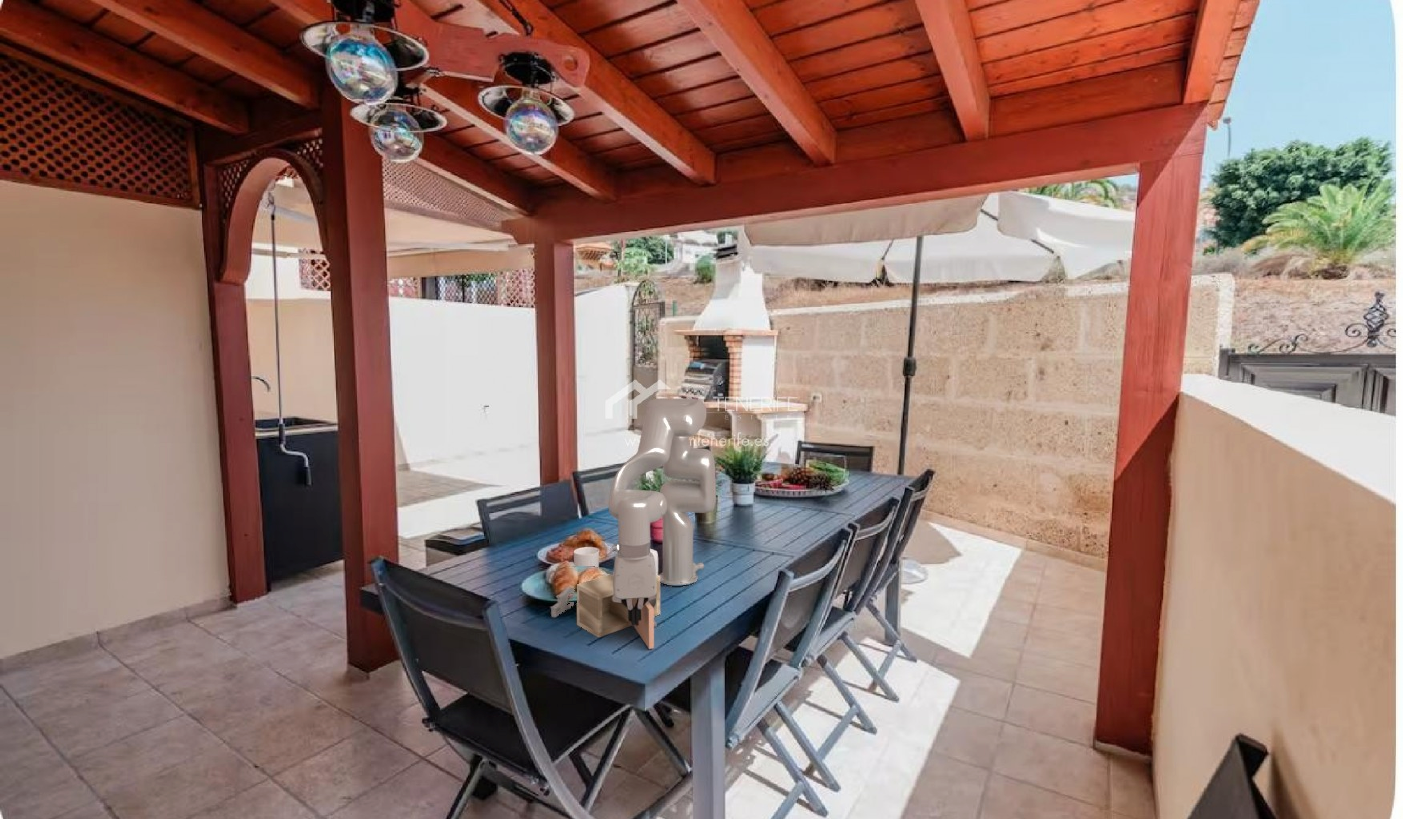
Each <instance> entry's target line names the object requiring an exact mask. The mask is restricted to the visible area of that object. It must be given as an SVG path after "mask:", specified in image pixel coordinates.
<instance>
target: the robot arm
mask: <svg viewBox="0 0 1403 819" xmlns="http://www.w3.org/2000/svg"><path fill="white" fill-rule="evenodd" d="M705 404H706V403H704V401H703V400H702V399H698V398H674V397H671V398H670V397H667V398H664V397H663V398H660V397H659V398H654V399H651V400H649V401H648V402H647V405H646V413H645V416H644V420H643V425H642V430H641V434H640V439H639V443H638V448H637V451H636V453H635V454H634V455H633V456H631V457H630V458H629V459H628V460H627V461H626V462H624V463H623V465H622V466H621V467H620V468H619V469H618V471H617V472H616V474H615V476H614V478H613V481H612V486H611V489H610V494H609V499H608V500H609V501H608V510H609V513H610V515H611V516H612V517H613V518H614V519H617V521H618V525H617V528H618V529H617V530H618V534H617V535H618V537H617V538H618V542H617V544H615V545H611V546H612V552H617V553H616V554H615V558H614V564H613V573H612V574H613V590H614V592H613V596H612V600H613V602H619V603H623V604H624V605H625V606H626V607H627V608H628V620H629V621H631V624H632V626H631V627H634V625H636V626H638V625H639V620H641V609H642V607H643V606H644V605H645V603H646V602H647V601H649V600H652V599H656V598H657V594H656V568H655V561H654V556H653V554H652V553H651V552H650V549H651V524H652V523H655V522H658V521H660V519H662V572H661V573H658V575H659V576H660V582H661V583H664V584H667V585H686V584H690V583H693V582H696V581H697V579H698V580H699V576H698V574H697V573H696V572H697V571H698V570H702V569H704V568H705V565H704V562H699V563H697V564H696V563H695V562H694V524H693V522H692V519H691V518H690V516H689V515H688V514H687V513H699V514H701V513H702V514H708V513H711V512H713V511H714V509H715V507H716V502H717V489H716V487H717V486H716V485H717V484H716V463H715V457H714V454H713V452H712V451H711V450H710V449H706V448H697V447H696V448H695V447H693V448H692V447H691V445H690V437H694V436H695V435H697V434H698V433H699V431H700V430H701V429H702V428H703V427H704V425H705V423H706V419H707V406H706V405H705ZM661 467H662V468H663V473H664V476H666V477H667V478H669V479H675V480H670V481H666V482H665V483H663V484H662V485H661V486H660V490H659V491H657V490H645V489H644V490H643V489H627V488H628V486H629V485H630V483H631V482H632V481H633V480H634V479H636V478H638V477H639V476H642V475H644V474H646V473H649V472H652V471H654V470H657V469H659V468H661ZM690 480H691V481H690ZM694 480H695V481H694ZM697 582H698V581H697ZM697 582H696V583H697ZM661 583H660V584H661ZM632 599H637V602H636V604H635V606H634V605H633V603H632Z"/></svg>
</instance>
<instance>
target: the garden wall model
mask: <svg viewBox="0 0 1403 819" xmlns="http://www.w3.org/2000/svg"><path fill="white" fill-rule="evenodd" d="M574 589H575V588H572V586H566V587H565V588H564V589H563V590H562V591H561V592H560V593H559V594H557V595H556V596H555V597H556V598H557V603H555V604H553V605H552V606H549V608H550V610H551V612H550V614H551V618H557V617H558V616H559V614H560V615H561V614H563V613H565V612H566V611H567V610H570V609H571V606H572V607H574V606H575V605H574V602H569V600H568V598H569V597H568V596H569V595H570V594H574V593H573V591H575V590H574ZM568 603H570V604H568ZM567 604H568V605H567ZM565 610H566V611H565ZM562 612H563V613H562Z"/></svg>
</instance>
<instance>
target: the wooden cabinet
mask: <svg viewBox="0 0 1403 819" xmlns="http://www.w3.org/2000/svg"><path fill="white" fill-rule="evenodd" d="M613 592H614V590H613V573H612V574H611V573H610V574H609V575H608V574H607V575H605V576H602V577H598V578H597V579H593V580H590V581H586V582H583V583H579V584H577V603H576V625H577V626H578V627H579V628H581V627H582V629H583V630H585V631H586V630H587V632H588V633H590V634H591V635H593V636H595V637H596V638H601V637H604V636H607V635H610V634H613V633H615V632H618V631H620V630H624V629H627V628H629V627H633V626H632V624H631V621H629V620H628V608H627V607H626V606H625V605H624V604H623V603H619V602H613V600H612V596H613ZM656 594H657V598H656V599H652V600H649V601H648V602H649V603H650V604H651V606H652V607H653V608H654V618H656V617H655V616H657V615H659V614H660V615H661V583H660V576H659V574H658V575H656ZM657 617H658V616H657Z"/></svg>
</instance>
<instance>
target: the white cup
mask: <svg viewBox="0 0 1403 819" xmlns="http://www.w3.org/2000/svg"><path fill="white" fill-rule="evenodd" d="M573 565H575V566H595V567H598V568H599V567H600V549H599V548H597V547H594V546H593V547H592V546H585V547H579V548H578V547H577V548H576V549H574V550H573ZM575 566H574V567H575ZM599 569H600V568H599Z"/></svg>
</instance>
